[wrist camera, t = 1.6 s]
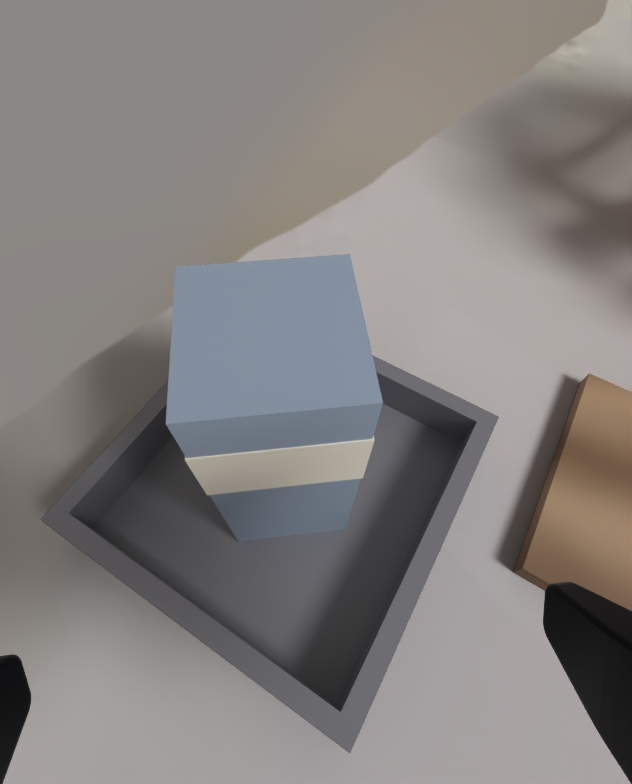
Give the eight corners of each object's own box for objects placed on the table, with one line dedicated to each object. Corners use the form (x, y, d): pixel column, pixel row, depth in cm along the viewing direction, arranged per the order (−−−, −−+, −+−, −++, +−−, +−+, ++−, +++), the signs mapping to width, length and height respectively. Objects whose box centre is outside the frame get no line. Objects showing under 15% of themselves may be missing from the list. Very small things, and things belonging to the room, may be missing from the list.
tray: (343, 738, 17) (349, 753, 14) (73, 536, 21) (39, 519, 18) (478, 442, 24) (498, 416, 21) (253, 328, 27) (247, 295, 25)
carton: (347, 529, 21) (385, 404, 10) (237, 542, 20) (163, 426, 10) (332, 431, 23) (351, 252, 13) (234, 441, 23) (173, 265, 13)
